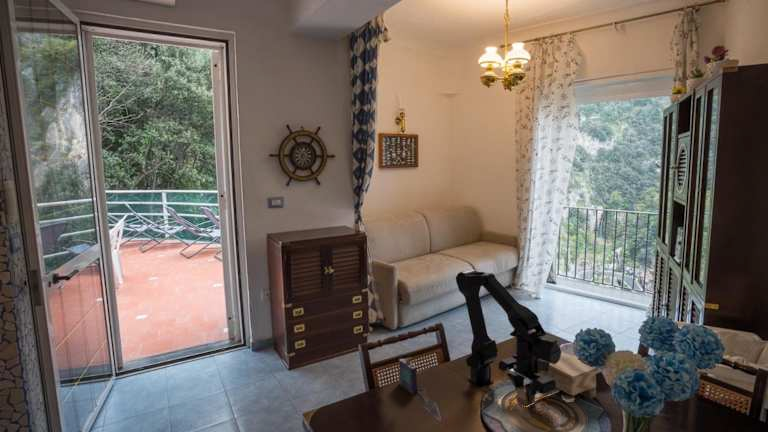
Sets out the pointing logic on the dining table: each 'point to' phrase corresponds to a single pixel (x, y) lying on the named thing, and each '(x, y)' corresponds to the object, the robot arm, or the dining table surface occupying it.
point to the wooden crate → (573, 376)
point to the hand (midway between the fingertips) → (525, 400)
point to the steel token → (568, 397)
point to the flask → (408, 375)
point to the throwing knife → (429, 404)
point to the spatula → (523, 396)
